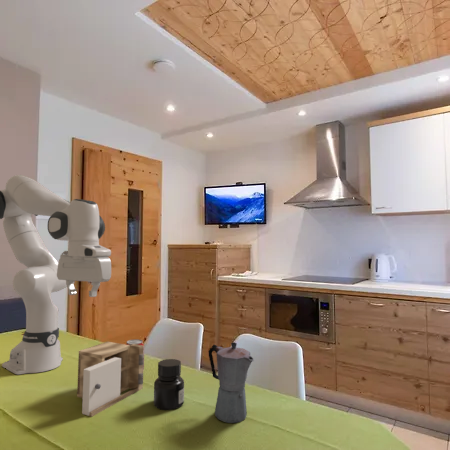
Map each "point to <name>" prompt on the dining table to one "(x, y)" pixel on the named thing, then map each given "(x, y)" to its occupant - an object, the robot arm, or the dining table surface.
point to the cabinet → (129, 367)
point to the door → (101, 384)
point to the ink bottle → (169, 385)
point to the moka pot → (231, 382)
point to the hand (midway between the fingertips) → (82, 295)
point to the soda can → (136, 343)
